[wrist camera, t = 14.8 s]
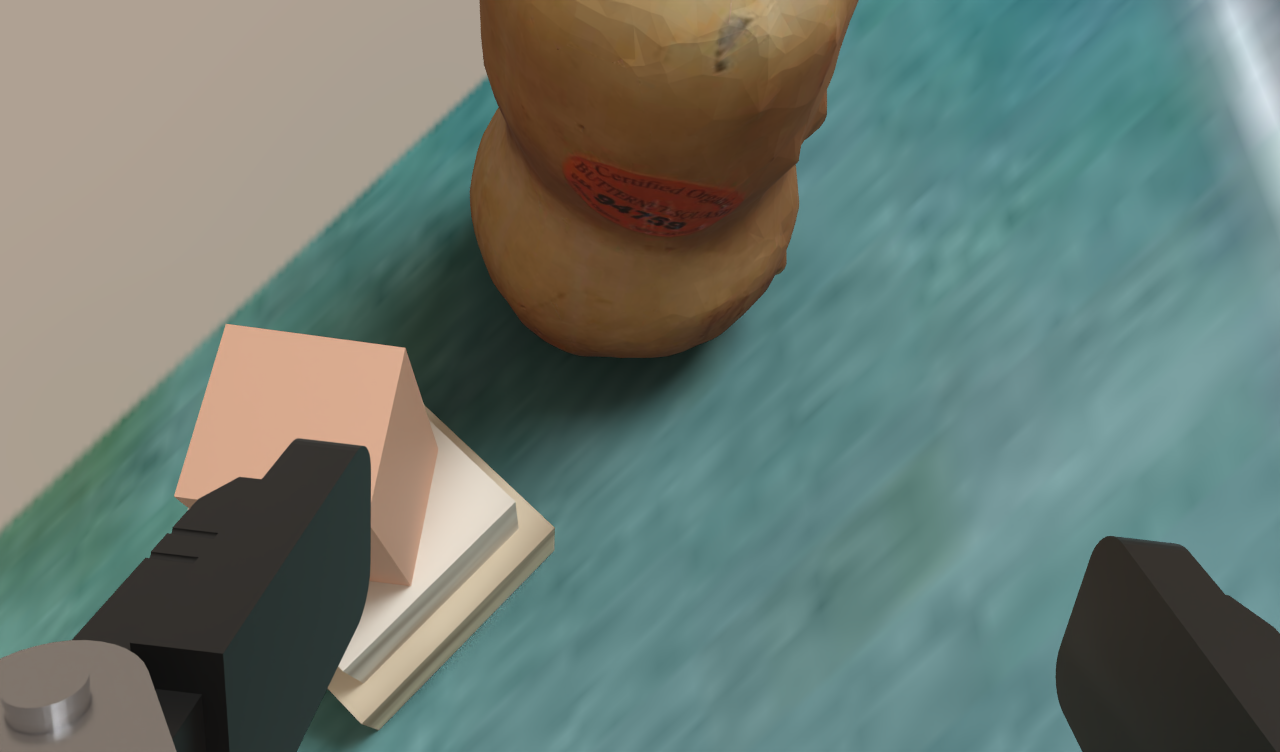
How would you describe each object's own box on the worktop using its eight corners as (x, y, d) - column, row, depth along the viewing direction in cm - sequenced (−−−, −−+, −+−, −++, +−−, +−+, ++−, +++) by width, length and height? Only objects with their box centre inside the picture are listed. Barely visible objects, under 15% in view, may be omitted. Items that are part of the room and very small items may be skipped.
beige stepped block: (554, 550, 43) (555, 501, 36) (378, 730, 40) (340, 716, 33) (395, 399, 45) (365, 323, 38) (216, 559, 42) (145, 509, 35)
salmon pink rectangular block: (438, 448, 36) (405, 347, 28) (410, 586, 34) (367, 521, 26) (300, 430, 36) (226, 323, 28) (265, 567, 34) (173, 496, 26)
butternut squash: (462, 390, 46) (374, -15, 23) (496, 146, 51) (453, -384, 28) (762, 416, 47) (970, 49, 24) (766, 173, 52) (939, -322, 29)
